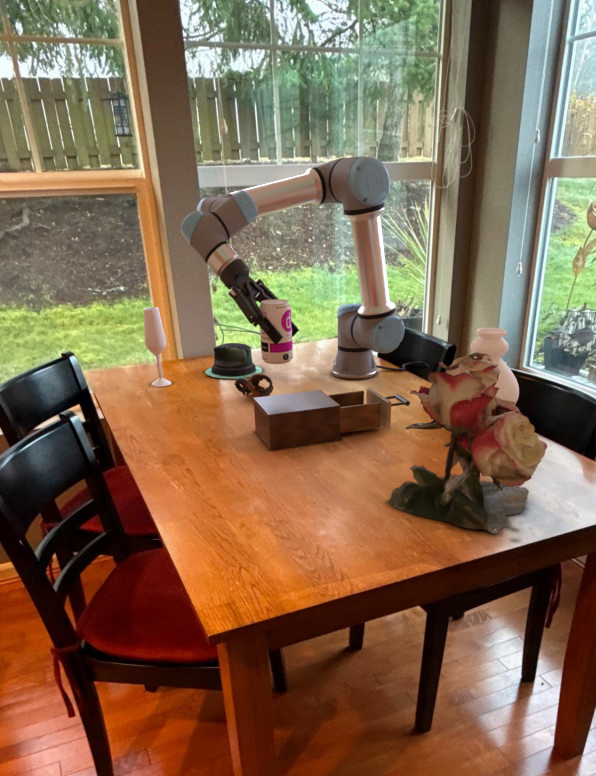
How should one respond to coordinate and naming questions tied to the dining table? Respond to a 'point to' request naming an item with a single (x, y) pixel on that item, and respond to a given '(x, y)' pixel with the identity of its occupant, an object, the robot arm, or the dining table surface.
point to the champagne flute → (155, 339)
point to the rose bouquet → (473, 450)
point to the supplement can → (281, 320)
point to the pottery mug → (254, 386)
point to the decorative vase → (497, 360)
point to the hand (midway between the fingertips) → (287, 337)
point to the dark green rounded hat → (233, 362)
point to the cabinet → (297, 419)
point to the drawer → (365, 410)
